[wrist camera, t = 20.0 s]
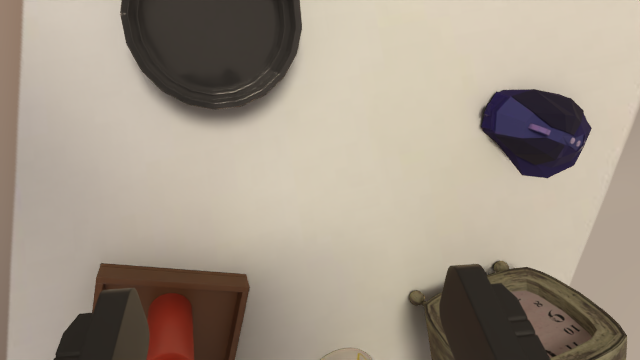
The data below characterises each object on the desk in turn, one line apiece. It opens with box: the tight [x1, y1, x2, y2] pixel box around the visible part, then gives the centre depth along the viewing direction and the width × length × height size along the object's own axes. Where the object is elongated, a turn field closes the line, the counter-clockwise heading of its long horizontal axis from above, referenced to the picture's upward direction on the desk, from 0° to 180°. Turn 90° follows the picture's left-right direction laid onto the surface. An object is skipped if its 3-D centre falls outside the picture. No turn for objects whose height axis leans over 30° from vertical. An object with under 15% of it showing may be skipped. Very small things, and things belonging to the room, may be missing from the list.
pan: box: [120, 0, 302, 109], centre depth 37 cm, size 13×13×4 cm
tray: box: [92, 263, 250, 360], centre depth 46 cm, size 17×13×3 cm
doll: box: [146, 293, 194, 360], centre depth 40 cm, size 4×4×12 cm
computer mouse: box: [481, 89, 591, 178], centre depth 49 cm, size 9×15×4 cm, turn 69°
